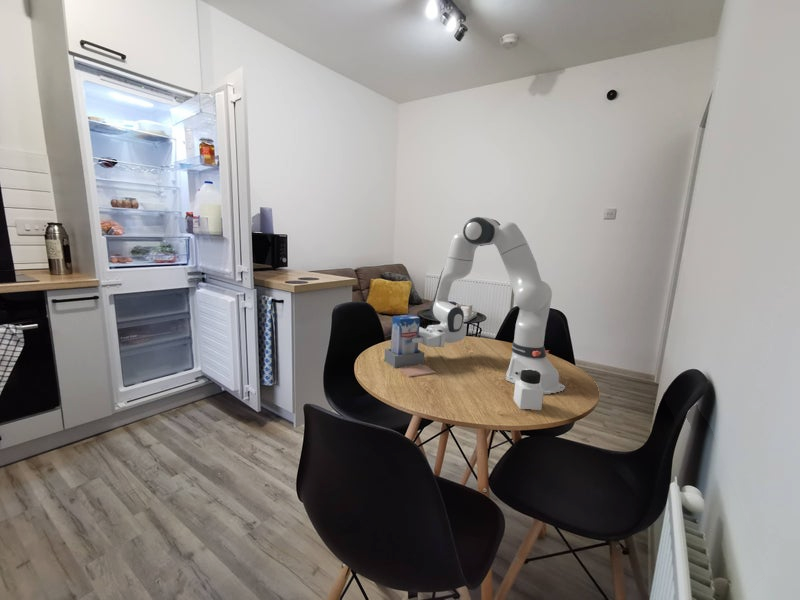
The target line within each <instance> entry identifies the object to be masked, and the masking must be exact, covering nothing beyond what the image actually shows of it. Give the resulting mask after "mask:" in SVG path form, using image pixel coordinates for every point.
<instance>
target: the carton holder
mask: <svg viewBox="0 0 800 600" xmlns="http://www.w3.org/2000/svg"><path fill="white" fill-rule="evenodd" d="M383 360H384V361H385V362H386V363H387V364H389V365H390V366H391V367H392V366H393V369H398V367H399V368H400V367H405V366H413V365H414V366H415V365H419V364H421V365H422V364H424V365H425V352H424V351H422V350H420V349H419V348H418V353H413V354H404V355H395V354H393V353H392V352H391V348H385V349H384V359H383Z"/></svg>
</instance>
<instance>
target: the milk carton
mask: <svg viewBox="0 0 800 600" xmlns="http://www.w3.org/2000/svg"><path fill="white" fill-rule="evenodd" d="M391 318H392V320H391V321H392V322H391V338H390V339H391V340H390V342H391V343H390V349H391V352H392V353H393V354H395V355H404V354H413V353H418V349H419V343H412V342H411V338H419V327H420V321H421V317H419V316H416V315H414V314H405V315H402V314H401V315H393V316H392V317H391Z"/></svg>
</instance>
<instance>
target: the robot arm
mask: <svg viewBox="0 0 800 600" xmlns="http://www.w3.org/2000/svg"><path fill="white" fill-rule="evenodd" d="M488 245H489V246H490V245H494V246H495V248H496V249H497V250H498V251H497V252H498V253H499V256H500V258H501V261H502V262H503V264H504V267H505V269H506V272H507V274H508V277H509V278H508V279H509V281H510V284H511V285H510V286H511V289H512V291H513V292H512V293H513V295H514V302H515V304H516V306H517V307H518V308H519V310H518V315H517V319H516V323H515V328H514V336H513V337H514V339H513V341H512V344H511V351H512V352H511V357H510V360H509V366H508V368H507V371H506V372H505V375H506V377H505V381H508V382H510V383H512V384H514V385H515V381H516V380H518V381H520V378H521V371H522V370H523V369H533V370H536V371H538V372H539V373H540V374H541V377H540V387H541V388H542V389H543V390H544V395H552V394H551V393H554V394H557V393H556V392H559V393H561V392H560V391H562V392H564V391H565V390H564V389H566V386H565V385H564V384H562V383H561V382H560V375H559V371H558V369H556V367H555V366H554V364H552V362H551V361H550V360H549V359H548V357H547V354H549V353H550V352H549V351H550V349H549V350H546V347H545V345H544V344H545V336H546V329H547V323H548V318H549V315H550V314H549V313H550V309H551V303H552V297H553V292H552V291H553V290H552V288H551V286H550V285H549V284H548V283H547V282H545V281H543V280H542V278H541V275H540V272H539V269H538V265H537V262H536V259H535V257H534V254H533V252H532V250H531V248H530V245H529V244H528V241H527V239H526V238H525V236H524V234H523V232H522V231H521V229H520V228H519V226H518V225H517V224H516V223H515V222H505V223H502V224H500V222H499V221H497V220H496V219H493V218H489V217H485V216H484V217H482V216H481V217H480V216H479V217H478V216H475V217H472V218H471V219H469V220H468V221H466V223H465V224H464V225H463V229H462V231H461V232H457V233H455V234H454V235H453V236H452V239H451V242H450V246H449V249H448V251H447V252H448V253H447V259H446V263H445V265H444V268H442V271H441V273H440V275H439V280H438V283H437V286H436V290H435V295H434V297H433V300H432V301H431V303H430V307H429V315H430V316H431V318H432V319H434V320H437V321H438V322H440V323H439V324H429V325H427V327H426V328H425V327H424V328H423V327H422V326H419V338H411V342H412V343H418V344H422V345H423V346H426V347H428V348H429V347H430V348H437V347H439V348H444V347H445V344H452V343H458V342H461V341H462V340H464V339H465V337H467V328H466V326H465V322H464V318H465V313H464V310H463V309H462V308H461V307H460V306H457V305H455V304H452V303H451V302H450V301H449V295H450V291H451V287H452V284H453V283H454V281H457V280H461V279H464V278H466V277H467V276H468V275H469V274H470V273H471V271H472V268H473V265H474V257H475V252H476V250H477V248H478V247H482V246H483V247H484V246H488ZM563 390H564V391H563Z"/></svg>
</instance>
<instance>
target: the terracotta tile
mask: <svg viewBox="0 0 800 600" xmlns="http://www.w3.org/2000/svg"><path fill="white" fill-rule="evenodd" d="M397 369H398V370H399V371H400V372H401V371H402V372H401V373H402V374H404V375H405V374H406V375H405V376H407V377H408V378H413V377H412V376H414V377H419V375H420V376H427V375H432V374H436V370H433V369H431V368H430V367H428V365H426V364H425V363H424V364H421V365H414V366H407V367H399V368H397ZM426 374H427V375H426Z"/></svg>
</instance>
